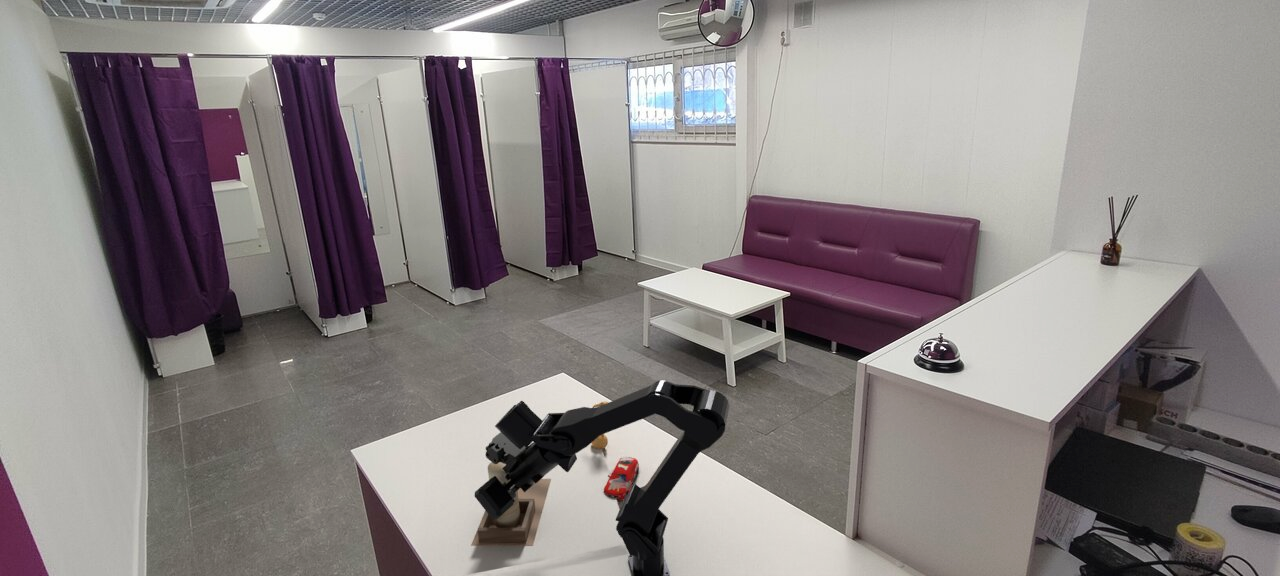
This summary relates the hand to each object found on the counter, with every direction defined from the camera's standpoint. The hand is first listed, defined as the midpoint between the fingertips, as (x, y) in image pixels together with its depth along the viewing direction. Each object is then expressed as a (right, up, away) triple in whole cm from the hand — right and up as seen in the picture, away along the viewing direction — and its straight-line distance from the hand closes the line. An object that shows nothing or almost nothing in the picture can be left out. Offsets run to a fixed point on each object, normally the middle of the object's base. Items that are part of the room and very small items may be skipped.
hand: (499, 492), depth 115 cm
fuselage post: (+1, -6, +1) cm, 7 cm away
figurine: (+18, +1, +29) cm, 35 cm away
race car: (+24, -4, +16) cm, 29 cm away
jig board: (+2, -7, +7) cm, 10 cm away
